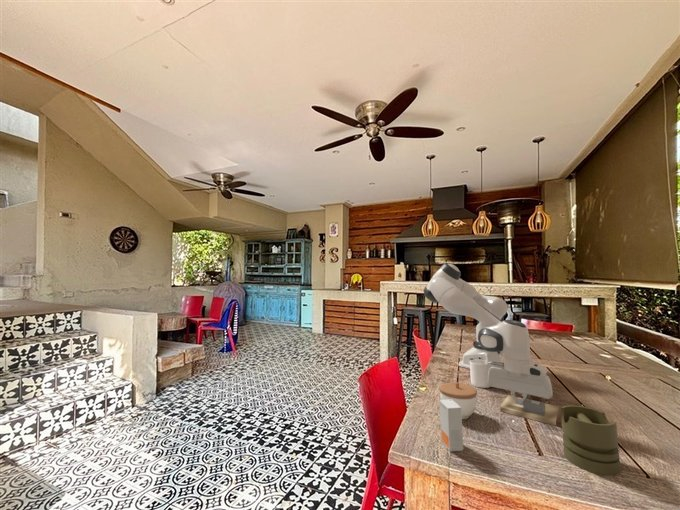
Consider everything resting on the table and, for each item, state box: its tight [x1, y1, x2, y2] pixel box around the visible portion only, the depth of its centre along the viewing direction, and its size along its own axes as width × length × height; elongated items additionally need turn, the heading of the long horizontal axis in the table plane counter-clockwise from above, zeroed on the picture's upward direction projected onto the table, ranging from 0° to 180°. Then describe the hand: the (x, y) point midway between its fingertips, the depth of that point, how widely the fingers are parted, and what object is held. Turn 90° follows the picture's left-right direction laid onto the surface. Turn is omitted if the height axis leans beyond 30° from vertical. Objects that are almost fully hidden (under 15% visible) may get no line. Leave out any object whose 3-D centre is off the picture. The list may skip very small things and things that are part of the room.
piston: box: [561, 405, 621, 477], centre depth 77 cm, size 11×12×11 cm
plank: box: [499, 394, 563, 428], centre depth 103 cm, size 24×14×2 cm, turn 49°
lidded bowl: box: [438, 381, 478, 420], centre depth 104 cm, size 13×13×11 cm
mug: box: [469, 359, 491, 389], centre depth 130 cm, size 12×8×10 cm
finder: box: [523, 398, 545, 416], centre depth 102 cm, size 6×4×3 cm, turn 49°
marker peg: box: [530, 395, 543, 402], centre depth 114 cm, size 4×4×10 cm
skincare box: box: [438, 399, 464, 453], centre depth 85 cm, size 6×4×12 cm
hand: (519, 404), depth 105 cm, fingers closed
